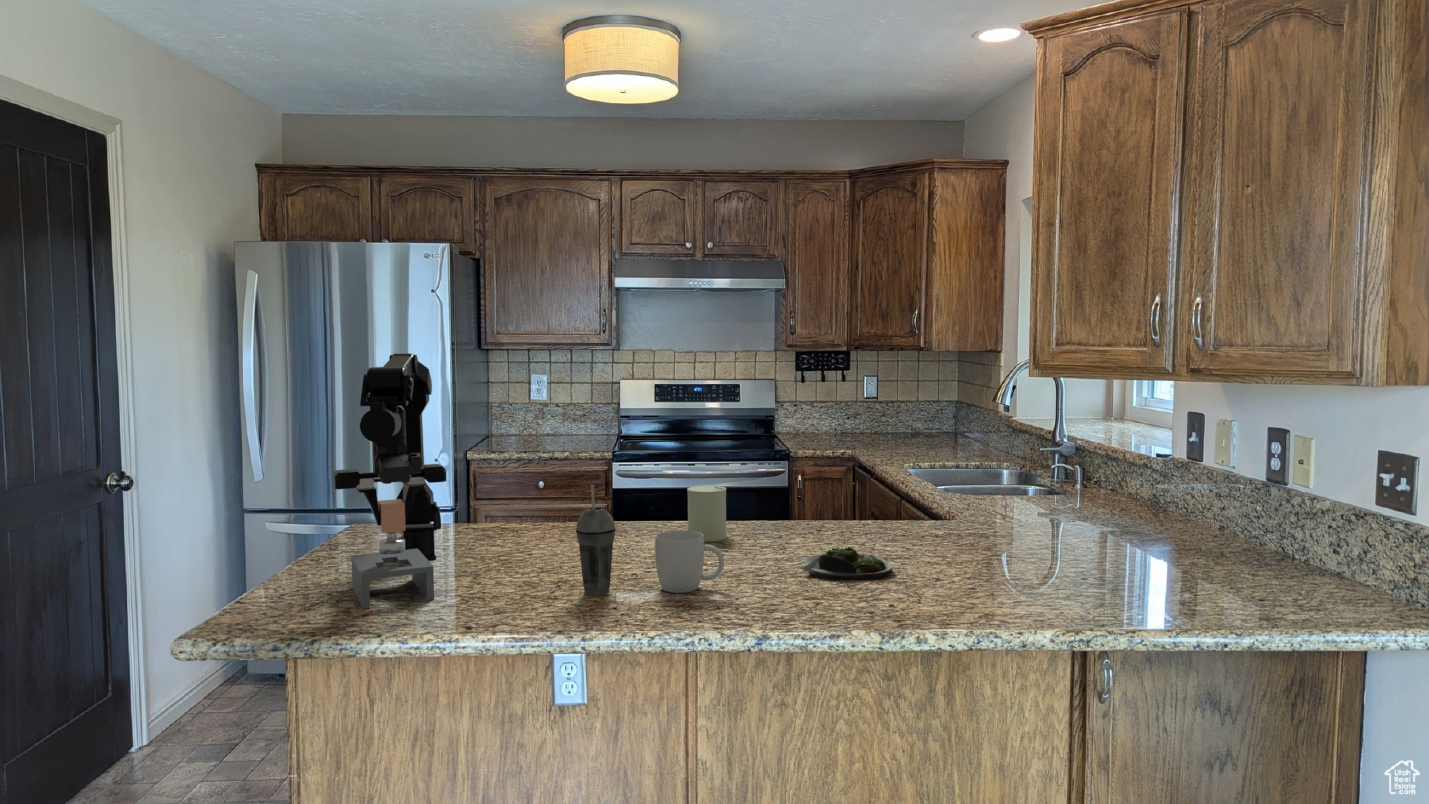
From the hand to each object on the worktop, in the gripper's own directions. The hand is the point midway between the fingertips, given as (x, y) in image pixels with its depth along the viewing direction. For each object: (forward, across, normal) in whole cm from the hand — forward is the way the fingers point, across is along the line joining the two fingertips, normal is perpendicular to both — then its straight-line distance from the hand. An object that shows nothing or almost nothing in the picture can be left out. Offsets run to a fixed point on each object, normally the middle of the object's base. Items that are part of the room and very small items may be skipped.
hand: (391, 524), depth 163 cm
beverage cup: (+14, +33, -15) cm, 39 cm away
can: (+13, +72, +17) cm, 75 cm away
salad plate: (+14, +82, -24) cm, 87 cm away
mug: (+14, +49, -21) cm, 55 cm away
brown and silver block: (+5, 0, 0) cm, 5 cm away
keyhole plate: (+13, 0, +3) cm, 14 cm away
